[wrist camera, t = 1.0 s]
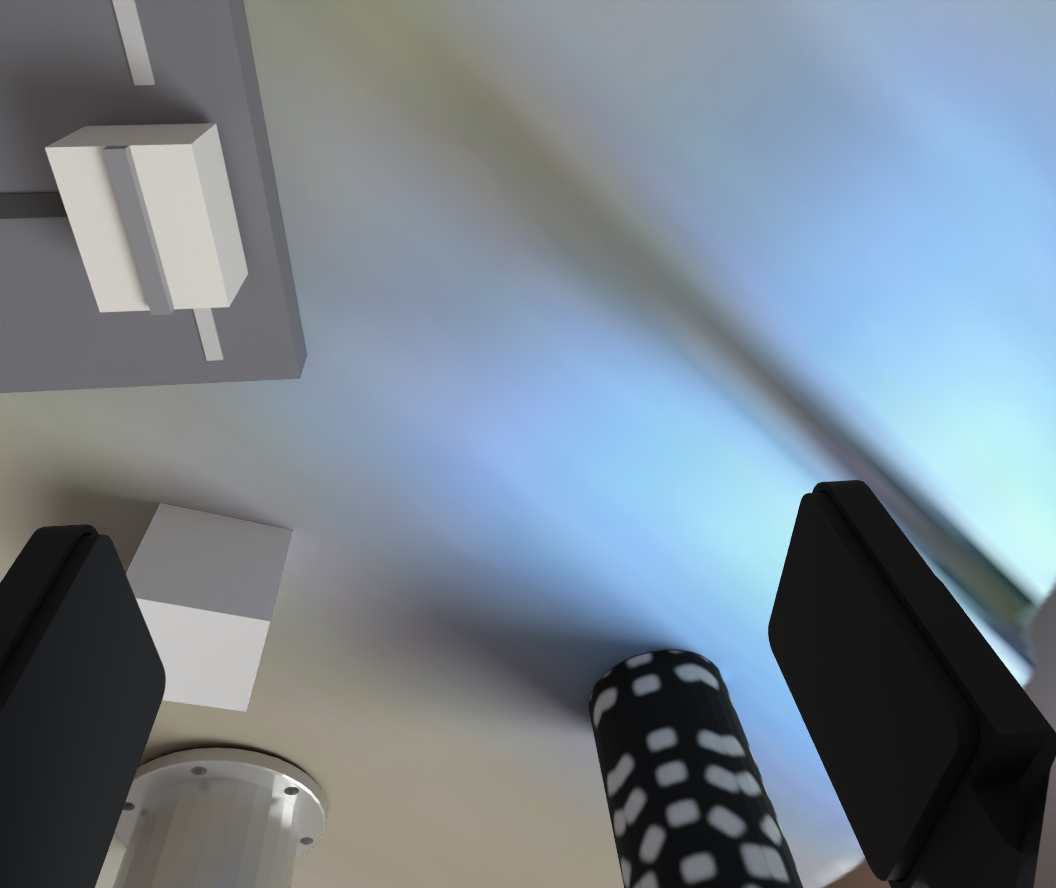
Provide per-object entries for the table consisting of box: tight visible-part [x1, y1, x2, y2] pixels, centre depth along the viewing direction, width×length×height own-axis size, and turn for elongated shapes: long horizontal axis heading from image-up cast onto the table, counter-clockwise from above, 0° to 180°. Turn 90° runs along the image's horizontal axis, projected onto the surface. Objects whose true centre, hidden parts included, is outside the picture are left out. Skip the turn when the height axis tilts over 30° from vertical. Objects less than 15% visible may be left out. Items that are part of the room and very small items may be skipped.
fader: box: [45, 123, 248, 315], centre depth 24 cm, size 5×4×3 cm
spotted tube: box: [589, 651, 804, 888], centre depth 38 cm, size 8×8×20 cm
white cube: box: [126, 503, 293, 712], centre depth 35 cm, size 6×6×6 cm
